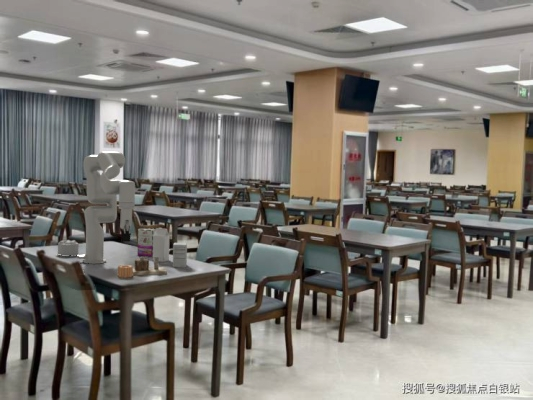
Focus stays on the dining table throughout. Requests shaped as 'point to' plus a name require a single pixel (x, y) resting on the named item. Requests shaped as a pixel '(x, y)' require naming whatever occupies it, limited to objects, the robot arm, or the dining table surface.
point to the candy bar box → (145, 242)
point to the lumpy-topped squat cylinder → (68, 247)
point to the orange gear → (125, 271)
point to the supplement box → (179, 254)
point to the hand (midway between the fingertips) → (126, 240)
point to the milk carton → (161, 244)
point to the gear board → (144, 268)
